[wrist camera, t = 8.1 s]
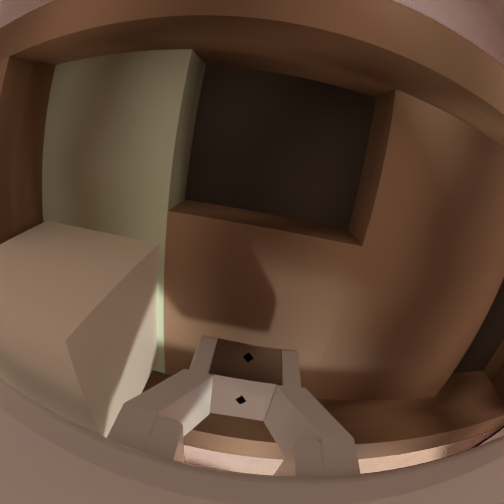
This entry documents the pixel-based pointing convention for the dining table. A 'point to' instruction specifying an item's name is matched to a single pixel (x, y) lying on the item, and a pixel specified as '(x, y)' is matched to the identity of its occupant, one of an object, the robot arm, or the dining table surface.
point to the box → (282, 193)
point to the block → (78, 320)
